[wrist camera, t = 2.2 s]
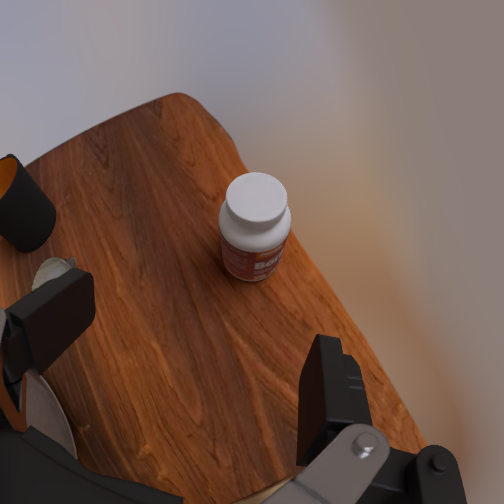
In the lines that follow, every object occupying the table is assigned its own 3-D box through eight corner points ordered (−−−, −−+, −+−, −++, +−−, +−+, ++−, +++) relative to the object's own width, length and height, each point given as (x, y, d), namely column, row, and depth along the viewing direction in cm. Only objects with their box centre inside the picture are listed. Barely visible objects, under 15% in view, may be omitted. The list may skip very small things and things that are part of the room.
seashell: (44, 283, 31) (43, 337, 27) (28, 271, 29) (24, 327, 24) (88, 256, 32) (91, 313, 27) (73, 242, 29) (73, 300, 24)
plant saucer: (-24, 341, 25) (-39, 336, 22) (89, 368, 26) (74, 366, 23) (-17, 475, 16) (-31, 477, 13) (102, 530, 17) (90, 541, 14)
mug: (57, 174, 36) (26, 127, 27) (57, 239, 32) (14, 194, 23) (16, 195, 35) (-17, 154, 25) (13, 260, 30) (-33, 223, 21)
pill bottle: (257, 294, 30) (267, 247, 20) (210, 261, 32) (198, 202, 22) (290, 250, 33) (312, 190, 23) (245, 221, 34) (248, 153, 24)
